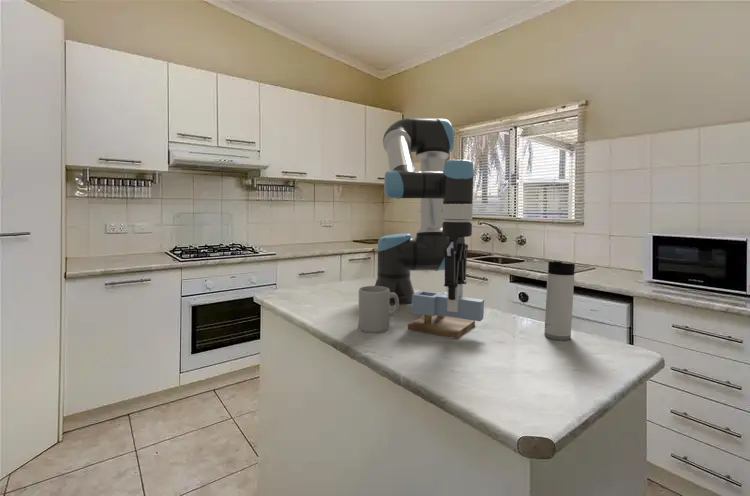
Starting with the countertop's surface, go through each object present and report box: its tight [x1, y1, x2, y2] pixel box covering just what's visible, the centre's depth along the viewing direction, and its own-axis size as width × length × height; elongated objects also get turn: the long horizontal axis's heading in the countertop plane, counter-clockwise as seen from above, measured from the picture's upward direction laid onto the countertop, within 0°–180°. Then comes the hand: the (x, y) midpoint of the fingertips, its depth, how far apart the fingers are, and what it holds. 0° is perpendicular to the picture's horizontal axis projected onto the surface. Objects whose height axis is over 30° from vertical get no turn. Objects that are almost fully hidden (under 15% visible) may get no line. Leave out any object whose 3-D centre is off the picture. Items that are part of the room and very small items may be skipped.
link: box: [411, 290, 485, 322], centre depth 110 cm, size 18×6×5 cm, turn 62°
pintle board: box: [407, 315, 476, 340], centre depth 113 cm, size 14×14×8 cm
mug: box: [357, 285, 400, 334], centre depth 113 cm, size 12×8×11 cm
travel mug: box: [543, 260, 576, 341], centre depth 105 cm, size 6×7×20 cm
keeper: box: [437, 291, 448, 318], centre depth 116 cm, size 5×5×7 cm
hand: (454, 309), depth 109 cm, fingers closed on link, 3 cm apart
